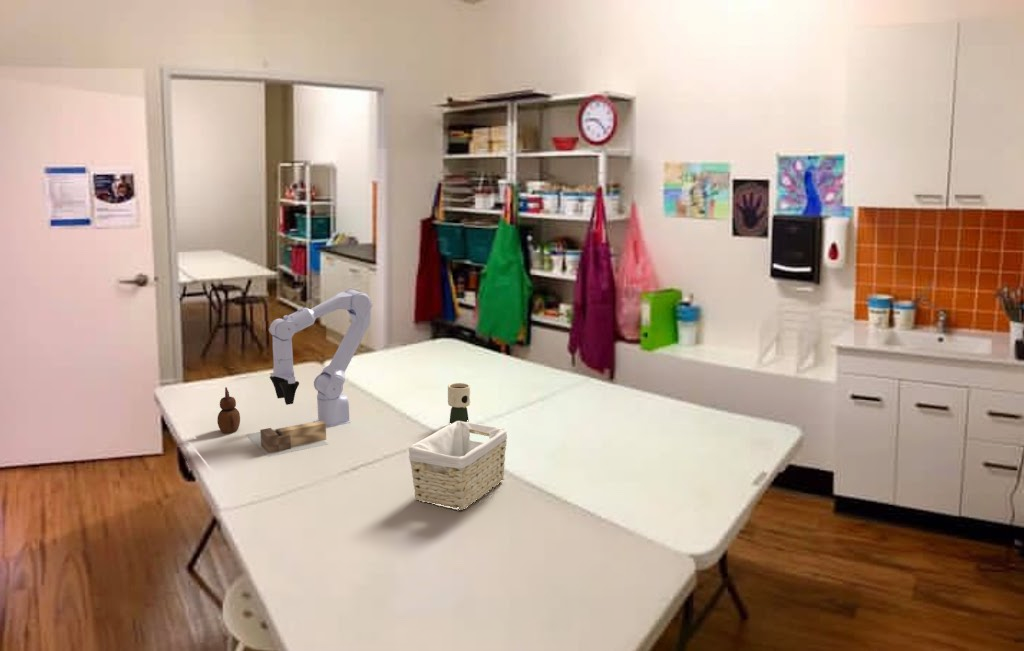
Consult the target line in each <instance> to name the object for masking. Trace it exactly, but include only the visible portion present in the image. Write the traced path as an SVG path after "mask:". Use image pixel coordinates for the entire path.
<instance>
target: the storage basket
mask: <svg viewBox="0 0 1024 651" xmlns="http://www.w3.org/2000/svg"><path fill="white" fill-rule="evenodd" d="M507 432H508V431H507V430H506V429H505V428H500V427H496V426H491V425H486V424H479V423H475V422H468V421H467V422H462V421H456V422H454V423H452V424H450V423H449V424H448V425H446V426H444V427H443V428H440V429H439V430H437V431H435V432H434V433H432V434H431V435H428V436H426V437H425V438H423V439H420V440H419V441H417V442H415V443H414V444H411V445H410V446H409V447H408V453H409V454H408V455H409V456H408V458H409V463H410V468H411V474H412V476H411V477H412V482H413V489H414V494H415V495H414V498H415V500H416V499H417V500H419V501H418V502H420V501H425V502H429V503H435V504H441V505H444V506H450V507H453V508H457V507H459V509H460V510H463V509H464V508H466V507H467V506H469V505H470V504H471V503H473V502H474V503H475V502H477V501H476V499H479V500H480V499H481V498H483V497H484V496H485V495H486V494H487V493H489V492H490V491H491V490H493V489H492V487H494V488H496V487H497V486H498V485H499V484H498V483H500V481H501V480H503V481H504V480H505V478H504V475H505V467H506V466H505V465H506V464H505V461H506V449H507V439H508V434H507ZM471 434H473V435H474V434H476V435H479V436H485V437H489V439H487V440H486V441H485V442H480V441H475V440H470V438H471V437H470V435H471ZM497 484H498V485H497ZM500 484H501V483H500ZM496 485H497V486H496ZM489 490H490V491H489ZM488 491H489V492H488ZM484 494H485V495H484ZM483 495H484V496H483ZM482 496H483V497H482ZM417 500H416V501H417ZM474 503H473V504H474ZM470 506H471V505H470ZM470 506H469V507H470ZM466 509H467V508H466ZM463 511H464V510H463Z"/></svg>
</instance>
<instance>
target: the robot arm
mask: <svg viewBox="0 0 1024 651" xmlns="http://www.w3.org/2000/svg"><path fill="white" fill-rule="evenodd" d="M372 307H373V303H372V301H371V298H370V296H369V295H368V294H367V293H365V292H361V291H358V290H355V289H354V288H350V289H346V290H345V291H342V292H341V291H340V292H339V293H337V294H336V295H334V296H332V297H330V298H329V299H327V300H324V301H323V302H321V303H319V304H318V305H315V306H314V307H312V308H308V307H298V308H297V310H296V311H295V312H293V313H290V314H289V315H287V314H285V315H283V318H276V319H274V320H272V323H270V326H269V327H268V331H269V333H270V334H271V335H272V336H271V337H272V356H273V357H272V358H273V359H272V360H273V367H272V368H273V369H272V372H271V373H269V375H270V376H269V379H270V380H271V382H272V385H273V387H274V388H273V389H274V391H275V394H276V398H277V399H284V403H285V405H286V406H287V405H293V404H294V401H295V397H296V396H295V395H296V391H297V389H298V387H299V386H300V382H299V381H298V380H296V376H295V371H294V357H293V356H294V355H293V354H294V353H293V342H292V341H293V340H292V338H293V337H294V335H295V334H296V333H298V332H301V331H302V330H305V329H306V328H308V327H310V326H312V325H314V324H315V321H316V319H318V318H321V317H323V316H325V315H327V314H329V313H332V312H334V311H337V310H347V313H348V314H349V318H350V320H351V323H350V324H349V326H348V328H347V330H346V332H345V334H344V336H343V338H342V340H341V342H340V343H339V345H338V348H337V350H336V351H335V353H334V355H333V357H332V359H331V361H330V363H329V364H328V365H327V366H325V367H324V368H322V370H321V372H320V373H319V374H318V375H317V376H316V377H315V378H314V381H313V387H314V389H315V390H316V392H317V395H316V399H317V401H316V402H317V419H314V420H313V422H318V421H323V422H324V423H326V428H329V427H336V426H340V425H346V424H351V421H350V404H349V403H350V402H349V399H348V397H347V395H346V394H344V393H343V390H344V384H345V381H346V375H345V374H346V370H347V368H348V367H349V365H350V362H351V361H352V359H353V357H354V355H355V353H356V351H357V349H358V348H359V346H360V344H361V341H362V340H363V338H364V336H365V334H366V332H367V331H368V328H369V326H370V324H371V313H372V312H371V311H372V310H371V309H372ZM342 393H343V394H342Z"/></svg>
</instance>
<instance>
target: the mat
mask: <svg viewBox="0 0 1024 651" xmlns="http://www.w3.org/2000/svg"><path fill="white" fill-rule="evenodd" d="M301 424H302V423H301ZM301 424H299V425H301ZM296 425H297V424H296ZM296 425H294V426H296ZM290 426H291V425H290ZM290 426H288V427H290ZM285 427H286V426H284V427H283V428H285ZM280 428H281V427H279V428H275V429H272V430H276V429H280ZM245 436H246V437H247V438H248V439H249V440H250V441H251V442H253V444H254V445H255V446H257V448H259V449H260V450H261V451H262V452H263V453H264V454H265V455H266V456H267V457H272V456H279V455H283V454H287V453H293V452H298V451H303V450H307V449H311V448H317V447H322V446H326V445H327V446H328V445H329V443H328V442H326V441H325V440H320V441H315V442H310V443H305V444H299V445H294V446H291V449H286V450H281V451H277V452H272V453H268V452H267V451H266V450H265V449H264V448H263V447H262V446H261V433H260V431H258V432H252V433H247V434H245Z"/></svg>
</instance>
